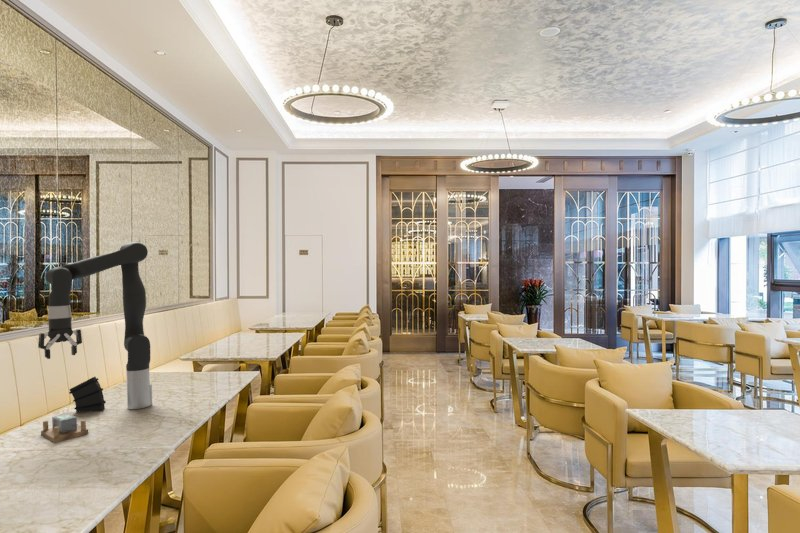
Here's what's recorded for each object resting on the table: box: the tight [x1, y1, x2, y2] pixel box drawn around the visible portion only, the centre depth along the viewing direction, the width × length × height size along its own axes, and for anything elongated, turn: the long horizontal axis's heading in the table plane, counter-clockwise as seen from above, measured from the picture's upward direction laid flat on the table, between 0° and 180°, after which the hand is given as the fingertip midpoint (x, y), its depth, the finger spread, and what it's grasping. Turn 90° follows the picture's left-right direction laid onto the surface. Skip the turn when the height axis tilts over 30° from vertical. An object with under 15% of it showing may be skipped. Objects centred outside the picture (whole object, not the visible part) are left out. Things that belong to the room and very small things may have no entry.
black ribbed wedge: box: [68, 376, 106, 413], centre depth 211 cm, size 4×13×15 cm, turn 98°
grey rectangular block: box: [51, 413, 78, 434], centre depth 180 cm, size 5×9×5 cm, turn 54°
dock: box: [40, 414, 89, 443], centre depth 180 cm, size 11×15×5 cm
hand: (61, 356), depth 190 cm, fingers open, 8 cm apart
